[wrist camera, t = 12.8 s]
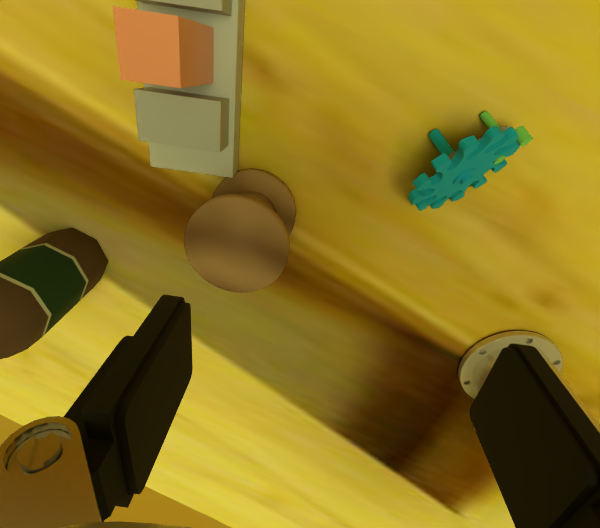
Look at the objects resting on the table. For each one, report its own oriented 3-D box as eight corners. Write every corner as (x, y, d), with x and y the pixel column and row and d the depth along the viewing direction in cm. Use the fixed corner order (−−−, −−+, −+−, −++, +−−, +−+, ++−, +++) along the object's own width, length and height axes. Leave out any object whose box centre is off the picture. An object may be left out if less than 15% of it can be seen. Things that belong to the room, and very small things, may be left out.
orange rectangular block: (213, 27, 29) (178, 15, 22) (213, 83, 31) (180, 88, 24) (164, 20, 29) (112, 6, 22) (167, 76, 31) (120, 79, 24)
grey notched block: (237, 171, 37) (225, 186, 32) (161, 160, 37) (136, 174, 32) (245, -24, 29) (230, -42, 24) (148, -39, 29) (112, -59, 24)
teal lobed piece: (414, 227, 37) (415, 182, 28) (388, 183, 39) (381, 127, 30) (518, 175, 35) (556, 109, 26) (485, 132, 37) (509, 56, 28)
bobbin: (290, 252, 41) (282, 298, 33) (213, 241, 41) (185, 285, 33) (300, 175, 37) (293, 207, 28) (214, 162, 36) (182, 191, 28)
